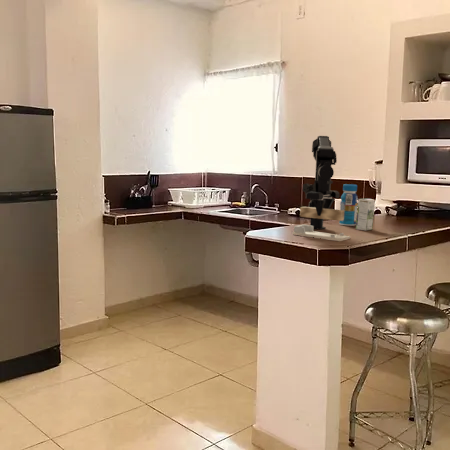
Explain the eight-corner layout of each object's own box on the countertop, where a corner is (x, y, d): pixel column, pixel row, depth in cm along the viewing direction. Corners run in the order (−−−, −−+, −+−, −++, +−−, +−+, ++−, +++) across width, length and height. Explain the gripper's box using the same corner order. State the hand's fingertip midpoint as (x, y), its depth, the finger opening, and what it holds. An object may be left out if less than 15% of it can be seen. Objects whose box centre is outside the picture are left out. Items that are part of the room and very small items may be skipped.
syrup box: (361, 228, 263) (364, 198, 261) (372, 230, 259) (375, 199, 257) (355, 229, 259) (357, 198, 257) (366, 231, 255) (368, 199, 253)
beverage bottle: (335, 224, 275) (337, 184, 272) (346, 223, 280) (349, 184, 277) (348, 226, 268) (350, 185, 265) (359, 225, 273) (362, 185, 270)
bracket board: (304, 232, 243) (304, 224, 243) (350, 238, 230) (350, 230, 229) (292, 234, 236) (292, 226, 235) (339, 241, 222) (339, 232, 222)
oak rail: (299, 216, 235) (300, 207, 234) (303, 215, 238) (303, 206, 238) (340, 220, 226) (341, 211, 225) (343, 219, 229) (344, 210, 229)
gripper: (318, 176, 242) (315, 212, 244) (295, 177, 227) (293, 215, 230) (341, 178, 235) (338, 214, 237) (319, 179, 221) (317, 217, 223)
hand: (321, 215), depth 232 cm, fingers closed on oak rail, 4 cm apart
